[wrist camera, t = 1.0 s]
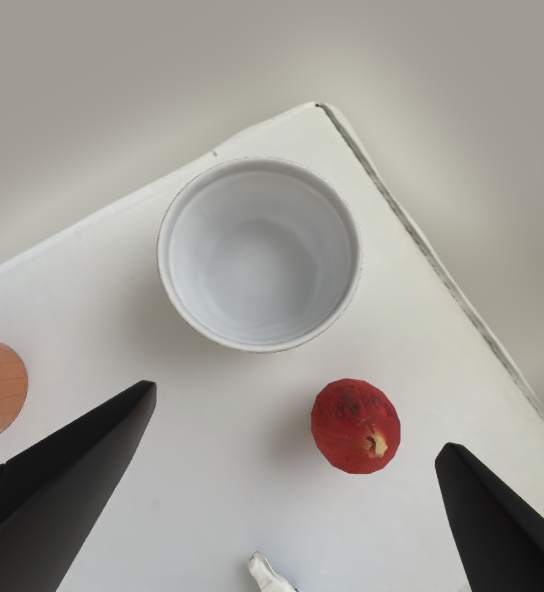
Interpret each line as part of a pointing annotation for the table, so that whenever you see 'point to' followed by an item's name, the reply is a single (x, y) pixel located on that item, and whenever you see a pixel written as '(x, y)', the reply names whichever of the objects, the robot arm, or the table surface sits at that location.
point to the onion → (355, 426)
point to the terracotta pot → (11, 385)
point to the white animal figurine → (268, 576)
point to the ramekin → (259, 254)
